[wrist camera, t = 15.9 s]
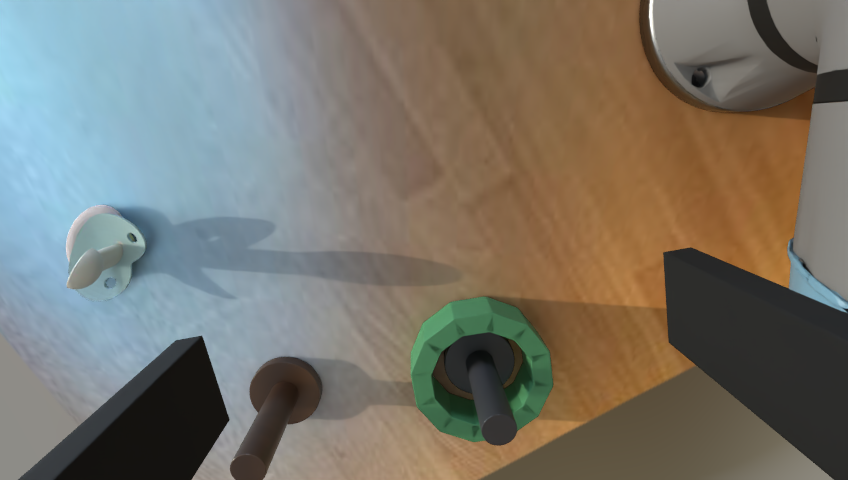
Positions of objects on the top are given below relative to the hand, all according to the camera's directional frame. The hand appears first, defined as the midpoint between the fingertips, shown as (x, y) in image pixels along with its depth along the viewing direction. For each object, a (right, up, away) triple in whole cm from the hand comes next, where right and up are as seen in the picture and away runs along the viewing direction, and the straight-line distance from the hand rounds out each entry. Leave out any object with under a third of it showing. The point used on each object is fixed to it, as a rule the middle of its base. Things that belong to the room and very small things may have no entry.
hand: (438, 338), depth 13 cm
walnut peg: (-12, -10, +27) cm, 32 cm away
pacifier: (-26, +2, +24) cm, 35 cm away
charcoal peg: (+4, -8, +27) cm, 28 cm away
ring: (+4, -8, +27) cm, 29 cm away
